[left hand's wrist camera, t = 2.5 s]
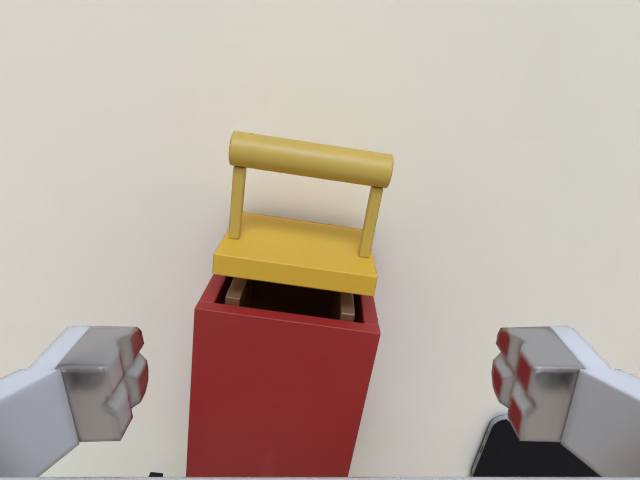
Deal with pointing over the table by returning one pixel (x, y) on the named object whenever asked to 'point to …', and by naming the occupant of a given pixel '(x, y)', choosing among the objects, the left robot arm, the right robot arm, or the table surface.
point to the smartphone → (524, 456)
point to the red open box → (276, 388)
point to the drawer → (300, 233)
